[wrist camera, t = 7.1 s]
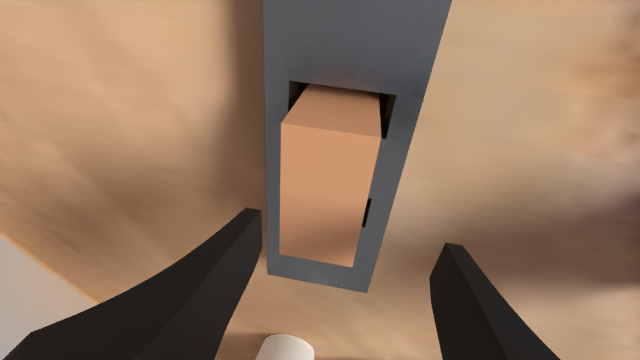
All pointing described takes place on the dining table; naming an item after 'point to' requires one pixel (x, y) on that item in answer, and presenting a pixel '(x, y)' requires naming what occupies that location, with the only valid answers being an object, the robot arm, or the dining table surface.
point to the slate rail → (353, 73)
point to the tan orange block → (327, 172)
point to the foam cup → (285, 348)
